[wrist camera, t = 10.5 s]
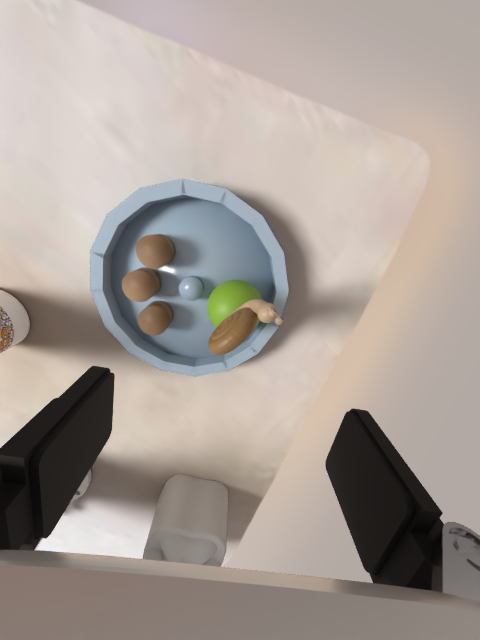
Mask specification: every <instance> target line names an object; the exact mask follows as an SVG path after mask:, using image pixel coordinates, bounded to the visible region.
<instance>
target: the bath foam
mask: <svg viewBox="0 0 480 640" xmlns="http://www.w3.org/2000/svg"><path fill="white" fill-rule="evenodd" d="M29 328H30V321H29V317H28V314H27V312H26V310H25V308H24V307H23V305H22V304H21V303H20V302H19V301H18V300H17V299H16V298H15V297H13V296H12V295H10V294H9V293H7V292H5V291H2V290H0V353H1V352H3V351H5V350H6V349H8V348H10V347H12V346H14V345H16V344H18V343H19V342H21V341H22V340H23V339H24V338H25V337H26V336H27V334H28V332H29Z"/></svg>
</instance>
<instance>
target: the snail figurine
mask: <svg viewBox="0 0 480 640" xmlns="http://www.w3.org/2000/svg"><path fill="white" fill-rule="evenodd" d="M207 312H208V316H209V319H210V321H211V323H212V324H213V325H214V327H215V328H216V329H215V330H214V332H213V333H212V335H211V336H210V338H209V341H208V348H209V351H210V352H211V353H213V354H214V355H224V354H227V353H229V352H231V351H233V350H234V349H236V348H237V347H238V346H239V345H241V344H242V343H243V342H244V341H245V340H246V339H247V338H248V337H249V336H250V335H251V333H252V332H253V330H254V329H255V327H256V326H257V325H258V324H259V322H260V321H261V322H263V323H270V322H272V321H274V320H275V323H276V324H277V325H282V324H283V322H284V320H283V318H282V317H280V316H278V309H277V307H276V306H275V305H273V304H272V303H268V302H266V301H264V300H262V298H261V295H260V293H259V292H258V291H257V289H256V288H255V287H254V286H252V285H251V284H250V283H248V282H245V281H242V280H228V281H225V282H223V283H221V284H219V285H218V286H217V287H216V288H215V289H214V290H213V291H212V293H211V295H210V297H209V299H208V304H207Z"/></svg>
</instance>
